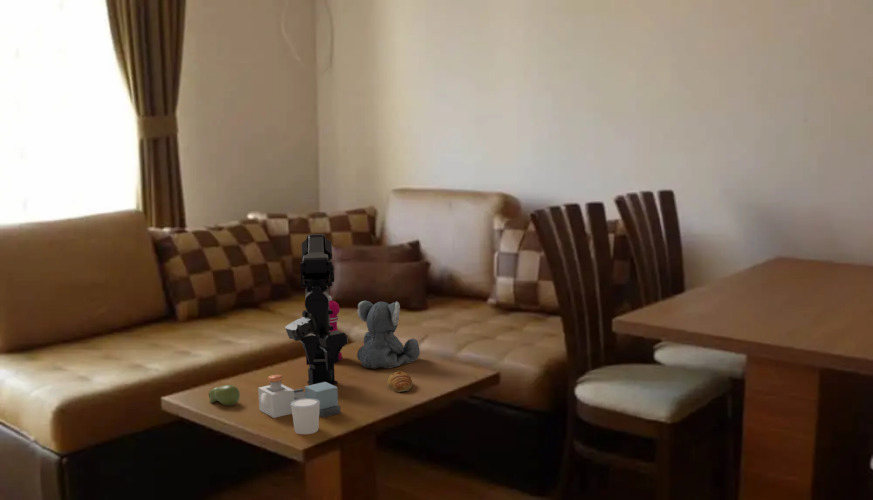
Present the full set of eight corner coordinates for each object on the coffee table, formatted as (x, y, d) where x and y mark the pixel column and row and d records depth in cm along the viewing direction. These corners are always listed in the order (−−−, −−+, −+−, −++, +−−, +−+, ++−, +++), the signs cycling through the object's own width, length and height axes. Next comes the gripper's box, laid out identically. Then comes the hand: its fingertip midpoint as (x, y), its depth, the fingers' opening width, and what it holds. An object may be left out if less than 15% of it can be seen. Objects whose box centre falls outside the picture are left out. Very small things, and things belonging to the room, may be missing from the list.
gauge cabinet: (280, 405, 234) (279, 382, 233) (295, 412, 228) (294, 390, 227) (257, 410, 230) (256, 387, 229) (272, 418, 224) (271, 395, 223)
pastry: (416, 392, 243) (415, 379, 242) (391, 395, 241) (391, 381, 241) (409, 382, 252) (409, 369, 251) (385, 385, 250) (385, 371, 250)
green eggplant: (225, 388, 231) (201, 387, 237) (228, 408, 231) (205, 407, 238) (242, 382, 235) (218, 382, 242) (245, 402, 236) (222, 401, 242)
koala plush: (423, 359, 274) (422, 297, 271) (390, 374, 259) (388, 308, 256) (378, 352, 284) (376, 291, 281) (343, 366, 269) (340, 302, 266)
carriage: (326, 405, 233) (325, 381, 232) (338, 410, 228) (337, 387, 227) (305, 410, 229) (304, 386, 228) (317, 416, 224) (316, 391, 224)
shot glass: (293, 426, 218) (291, 398, 217) (321, 424, 219) (320, 397, 218) (291, 436, 211) (289, 407, 210) (320, 434, 212) (319, 406, 211)
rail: (301, 394, 242) (301, 388, 242) (340, 413, 227) (340, 406, 226) (284, 398, 239) (284, 392, 239) (322, 417, 223) (322, 411, 223)
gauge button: (279, 395, 231) (278, 373, 230) (286, 399, 228) (285, 376, 227) (266, 398, 229) (265, 376, 228) (273, 402, 226) (272, 379, 225)
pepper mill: (339, 362, 272) (336, 298, 269) (316, 362, 274) (313, 298, 271) (346, 356, 279) (344, 293, 276) (324, 355, 281) (321, 293, 278)
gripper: (271, 305, 227) (274, 364, 229) (307, 317, 212) (310, 381, 215) (309, 299, 234) (312, 357, 236) (347, 310, 219) (350, 372, 221)
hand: (320, 366), depth 227 cm, fingers open, 9 cm apart
